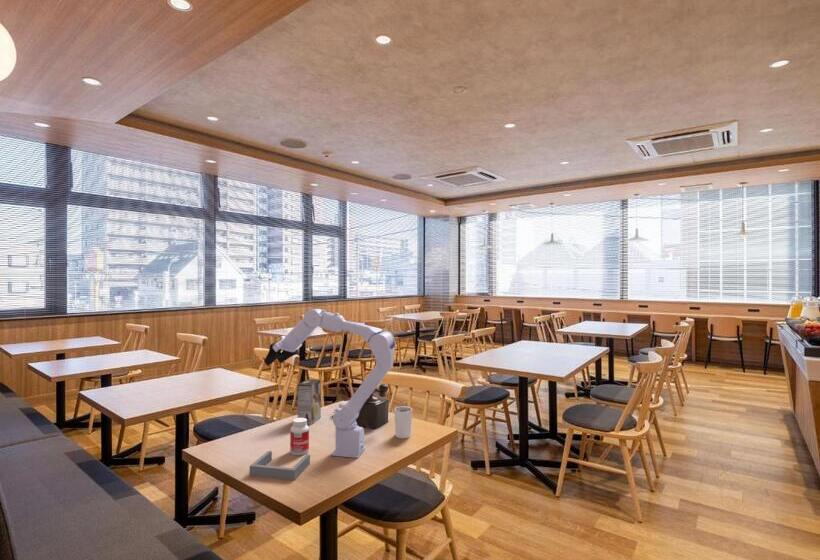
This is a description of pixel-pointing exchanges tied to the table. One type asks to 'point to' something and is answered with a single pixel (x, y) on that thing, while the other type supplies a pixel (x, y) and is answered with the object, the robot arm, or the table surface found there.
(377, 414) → the manual coffee grinder
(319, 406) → the coffee box
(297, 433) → the pill bottle
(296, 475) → the box
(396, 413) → the drinking glass
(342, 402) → the charger
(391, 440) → the table surface
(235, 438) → the table surface
